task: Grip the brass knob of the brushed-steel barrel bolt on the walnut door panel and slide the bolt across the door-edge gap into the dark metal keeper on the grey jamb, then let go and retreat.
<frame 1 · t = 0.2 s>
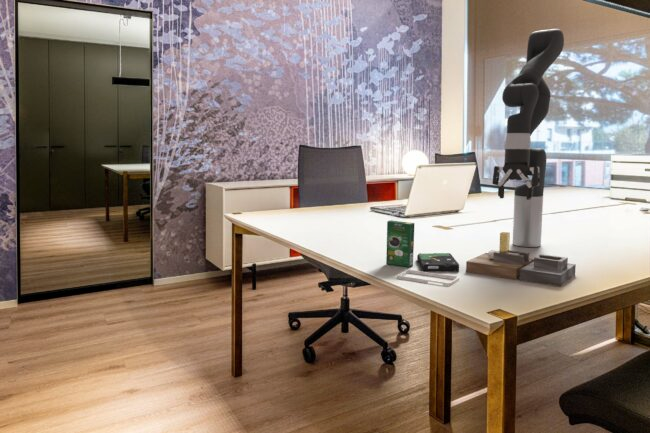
hand: (514, 198, 169), 17 cm above the table, tool pointing down, fingers open, 8 cm apart
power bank: (427, 281, 141), on the table
coffee box: (400, 265, 157), on the table
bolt: (504, 246, 147), point 7 cm above the table, slide at 0.0 cm
disk drive: (437, 267, 156), on the table
door and jamb: (514, 272, 146), on the table
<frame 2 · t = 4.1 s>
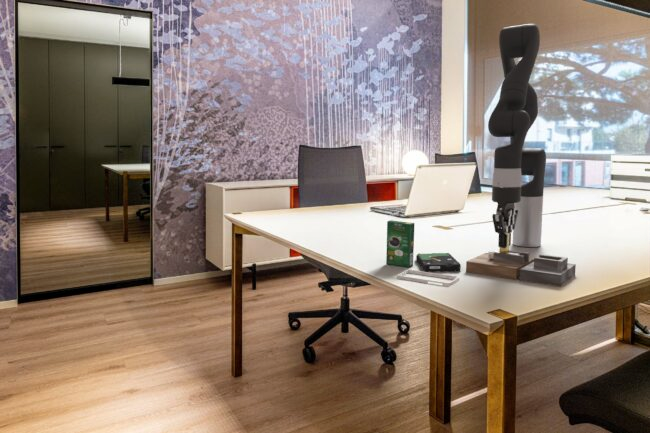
hand: (504, 246, 147), 7 cm above the table, tool pointing down, fingers closed on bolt, 2 cm apart
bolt: (504, 246, 147), point 7 cm above the table, slide at 0.0 cm, touching gripper
everything else where it was.
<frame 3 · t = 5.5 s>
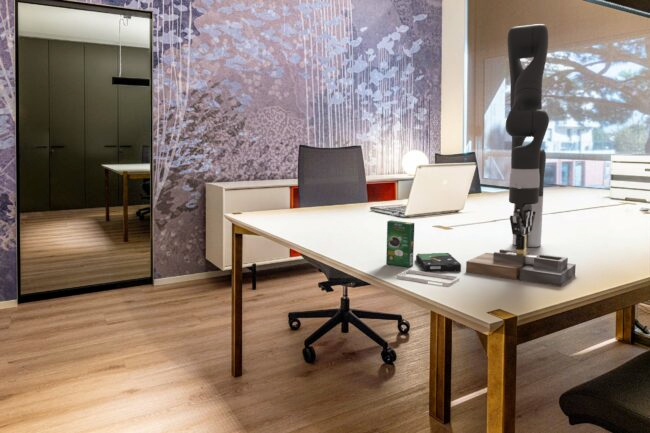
hand: (521, 248, 144), 7 cm above the table, tool pointing down, fingers closed on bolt, 2 cm apart
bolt: (521, 248, 144), point 7 cm above the table, slide at 4.7 cm, touching gripper
everything else where it was.
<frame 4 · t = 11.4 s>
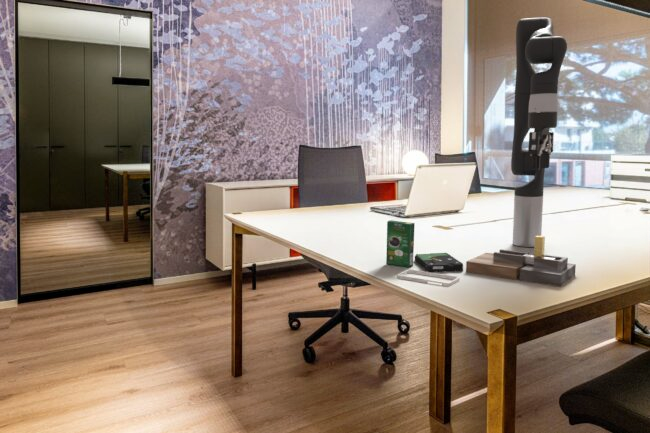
hand: (540, 169, 150), 28 cm above the table, tool pointing down, fingers open, 8 cm apart
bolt: (539, 250, 141), point 7 cm above the table, slide at 9.4 cm
everything else where it was.
at the end: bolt slide at 9.4 cm; the gripper is holding nothing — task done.
